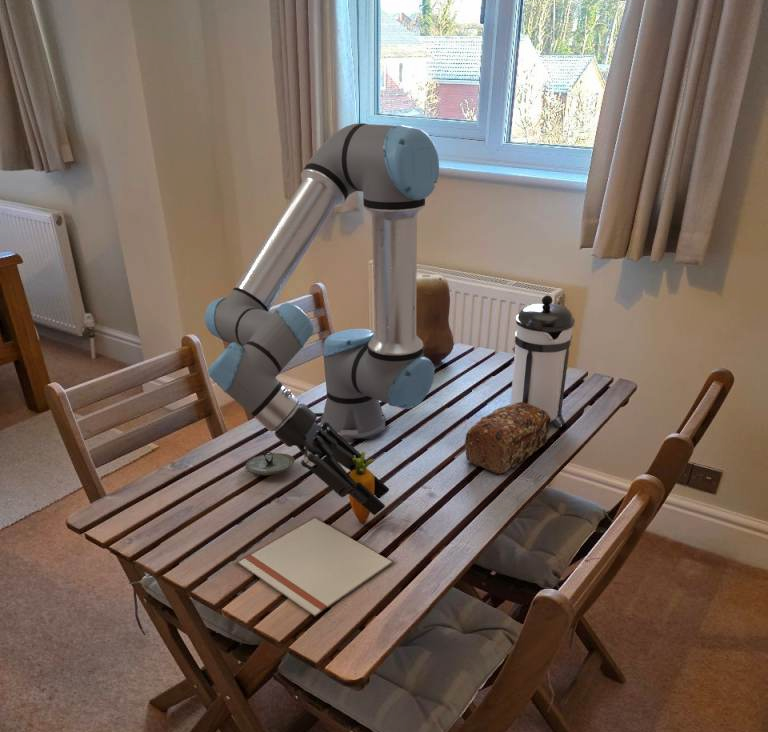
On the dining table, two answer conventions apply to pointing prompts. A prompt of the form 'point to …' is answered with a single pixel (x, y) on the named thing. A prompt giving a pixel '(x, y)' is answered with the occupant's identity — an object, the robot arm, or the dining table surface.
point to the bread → (507, 436)
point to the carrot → (367, 481)
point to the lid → (269, 463)
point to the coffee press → (542, 356)
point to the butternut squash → (433, 317)
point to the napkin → (315, 565)
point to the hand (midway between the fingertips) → (381, 501)
